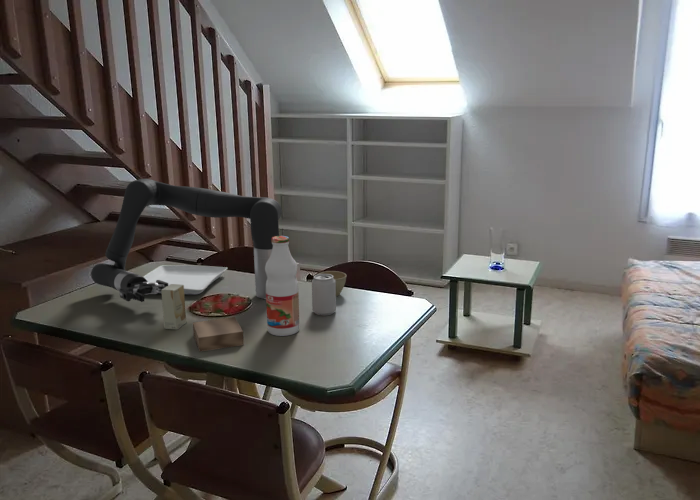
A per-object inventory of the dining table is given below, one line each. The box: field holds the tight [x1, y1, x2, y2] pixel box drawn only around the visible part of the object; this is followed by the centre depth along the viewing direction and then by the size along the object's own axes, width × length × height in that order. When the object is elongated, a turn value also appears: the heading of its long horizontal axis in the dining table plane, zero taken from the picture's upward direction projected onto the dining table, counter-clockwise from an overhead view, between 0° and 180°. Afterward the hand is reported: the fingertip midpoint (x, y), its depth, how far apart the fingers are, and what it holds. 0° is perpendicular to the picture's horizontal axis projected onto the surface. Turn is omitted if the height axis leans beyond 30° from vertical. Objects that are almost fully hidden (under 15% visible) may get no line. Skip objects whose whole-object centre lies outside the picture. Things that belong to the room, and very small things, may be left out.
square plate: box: [142, 264, 228, 295], centre depth 222 cm, size 27×27×4 cm
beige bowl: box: [316, 270, 347, 298], centre depth 209 cm, size 10×10×7 cm
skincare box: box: [161, 284, 187, 330], centre depth 182 cm, size 6×4×12 cm
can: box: [311, 273, 337, 316], centre depth 192 cm, size 8×8×12 cm
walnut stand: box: [192, 316, 245, 352], centre depth 172 cm, size 12×12×4 cm
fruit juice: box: [265, 235, 301, 337], centre depth 176 cm, size 9×9×28 cm
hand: (156, 295), depth 189 cm, fingers open, 8 cm apart
